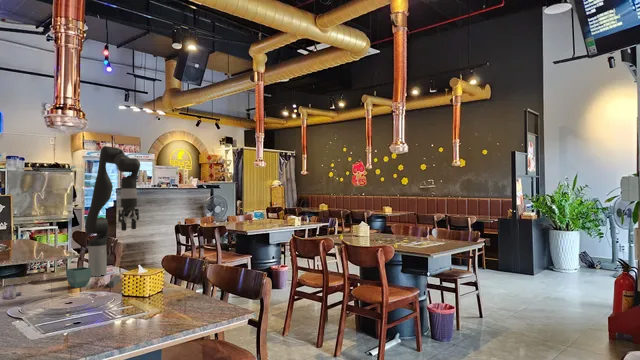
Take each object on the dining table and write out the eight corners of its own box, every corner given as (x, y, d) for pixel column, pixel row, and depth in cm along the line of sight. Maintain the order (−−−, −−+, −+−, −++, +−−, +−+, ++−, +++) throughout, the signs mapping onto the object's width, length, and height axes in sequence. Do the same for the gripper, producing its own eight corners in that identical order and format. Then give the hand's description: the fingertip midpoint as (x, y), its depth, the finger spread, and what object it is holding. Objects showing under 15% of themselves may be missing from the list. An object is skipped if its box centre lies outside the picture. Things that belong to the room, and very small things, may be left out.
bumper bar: (109, 287, 204) (109, 281, 205) (115, 281, 220) (115, 275, 220) (113, 287, 205) (113, 281, 205) (119, 280, 220) (119, 275, 220)
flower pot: (92, 285, 209) (92, 268, 210) (74, 289, 202) (74, 271, 202) (83, 284, 214) (83, 266, 214) (65, 287, 206) (65, 269, 207)
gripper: (127, 197, 201) (127, 231, 200) (143, 197, 215) (143, 228, 215) (113, 198, 202) (113, 231, 201) (130, 197, 216) (130, 228, 215)
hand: (129, 229), depth 208 cm, fingers open, 8 cm apart
